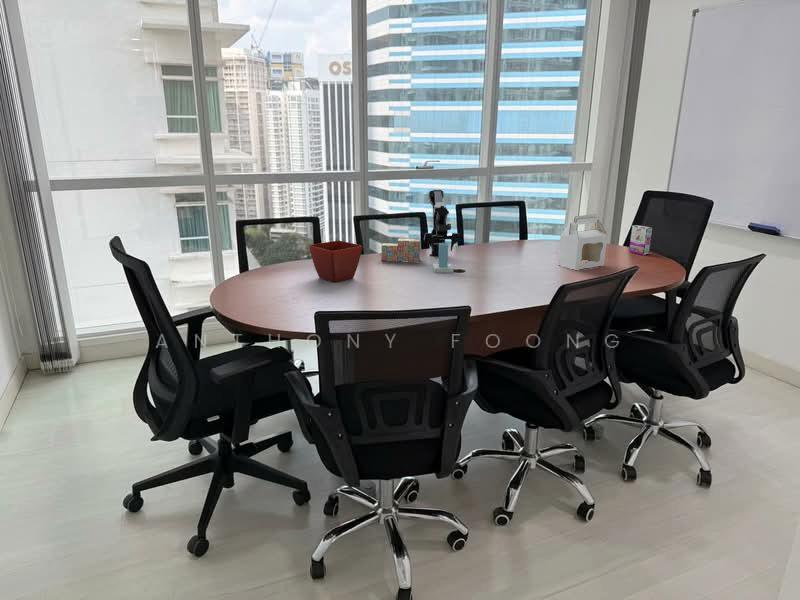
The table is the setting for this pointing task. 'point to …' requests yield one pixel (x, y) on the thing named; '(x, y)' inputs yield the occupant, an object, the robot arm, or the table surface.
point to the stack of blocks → (402, 250)
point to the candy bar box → (640, 239)
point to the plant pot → (335, 260)
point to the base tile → (442, 268)
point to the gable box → (589, 239)
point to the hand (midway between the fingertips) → (442, 251)
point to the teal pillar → (443, 255)
